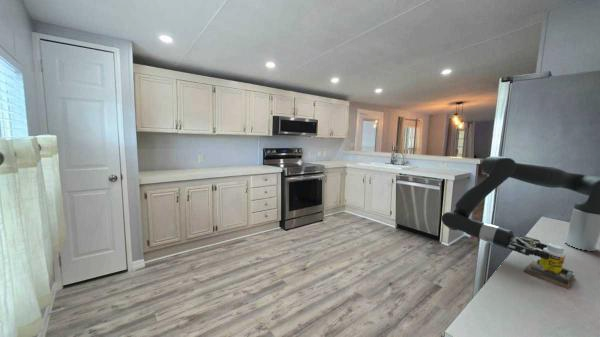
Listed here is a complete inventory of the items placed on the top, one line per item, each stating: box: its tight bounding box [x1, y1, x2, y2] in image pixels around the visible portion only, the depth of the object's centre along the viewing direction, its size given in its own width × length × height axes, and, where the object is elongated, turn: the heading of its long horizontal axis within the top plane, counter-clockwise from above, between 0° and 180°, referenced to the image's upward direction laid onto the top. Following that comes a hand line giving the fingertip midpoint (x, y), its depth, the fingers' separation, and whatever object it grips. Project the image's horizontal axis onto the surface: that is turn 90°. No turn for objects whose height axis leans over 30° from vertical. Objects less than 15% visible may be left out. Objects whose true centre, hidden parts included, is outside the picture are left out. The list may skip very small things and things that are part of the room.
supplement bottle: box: [538, 242, 566, 276], centre depth 85 cm, size 6×6×10 cm
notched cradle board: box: [523, 258, 576, 290], centre depth 85 cm, size 12×11×2 cm
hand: (551, 253), depth 84 cm, fingers open, 8 cm apart
